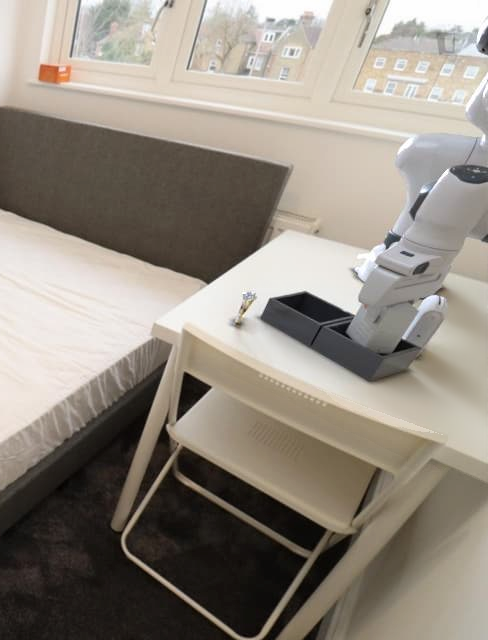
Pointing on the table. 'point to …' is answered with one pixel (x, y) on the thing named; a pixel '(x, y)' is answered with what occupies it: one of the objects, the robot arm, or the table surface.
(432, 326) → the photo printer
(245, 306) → the ring
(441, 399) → the table surface
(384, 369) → the basin
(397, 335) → the small box
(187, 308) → the table surface
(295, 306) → the basin
